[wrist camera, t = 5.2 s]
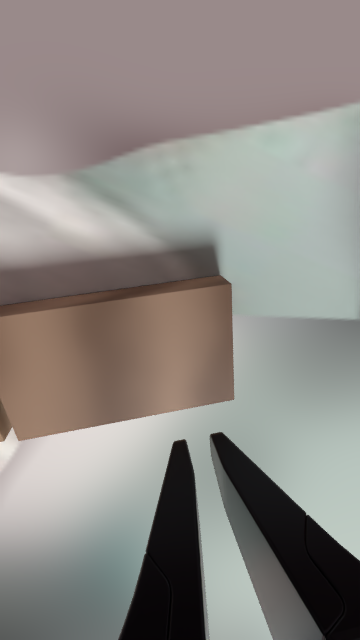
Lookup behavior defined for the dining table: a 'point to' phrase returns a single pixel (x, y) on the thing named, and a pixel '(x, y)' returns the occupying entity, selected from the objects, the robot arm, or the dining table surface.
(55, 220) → the dining table surface
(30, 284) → the dining table surface
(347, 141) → the dining table surface
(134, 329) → the tan flat wooden block
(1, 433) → the oak plank
